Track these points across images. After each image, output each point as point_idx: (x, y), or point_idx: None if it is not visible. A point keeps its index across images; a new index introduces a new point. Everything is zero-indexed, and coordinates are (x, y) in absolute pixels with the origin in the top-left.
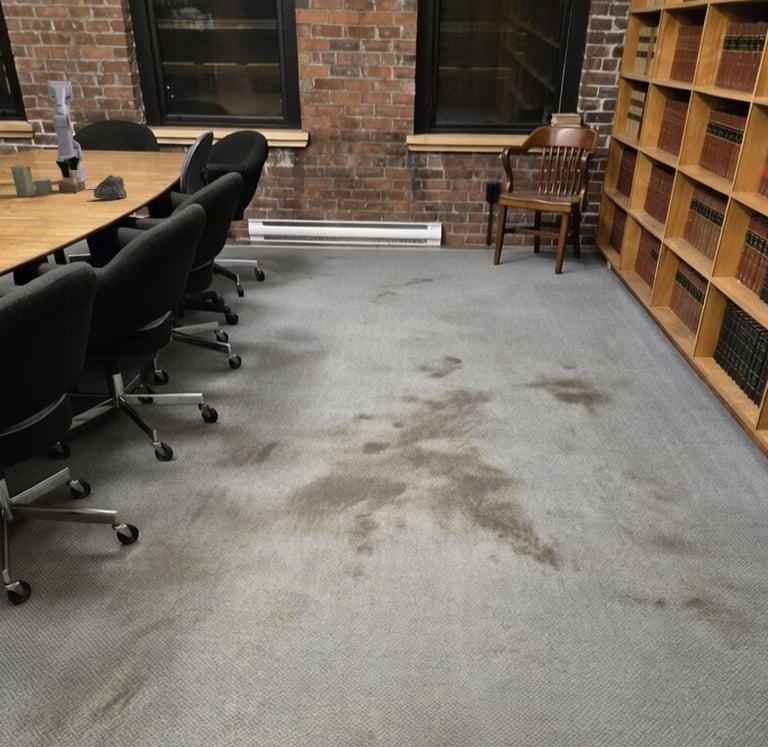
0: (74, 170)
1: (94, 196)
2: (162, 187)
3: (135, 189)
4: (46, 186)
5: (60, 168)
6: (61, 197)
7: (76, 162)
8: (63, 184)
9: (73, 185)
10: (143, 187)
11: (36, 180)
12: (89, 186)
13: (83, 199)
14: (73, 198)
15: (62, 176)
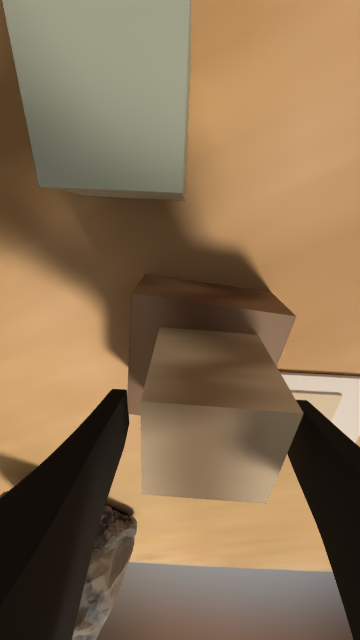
0: (253, 485)
1: (2, 494)
2: (306, 568)
3: (265, 526)
4: (78, 192)
5: (26, 481)
6: (5, 343)
7: (356, 637)
8: (131, 335)
9: (128, 398)
10: (307, 537)
11: (30, 6)
12: (306, 394)
13: (20, 436)
14: (16, 399)
15: (151, 363)
